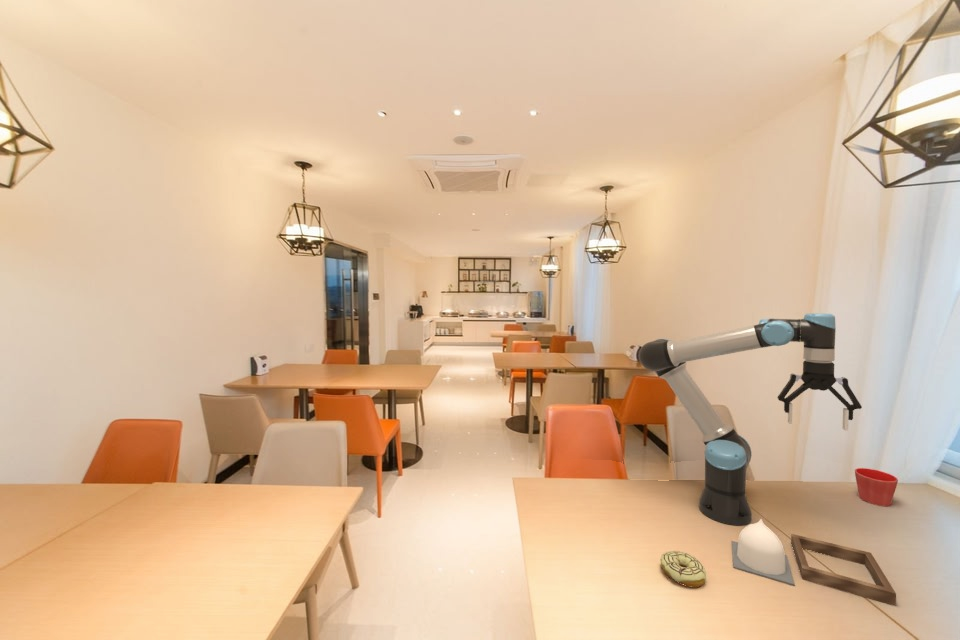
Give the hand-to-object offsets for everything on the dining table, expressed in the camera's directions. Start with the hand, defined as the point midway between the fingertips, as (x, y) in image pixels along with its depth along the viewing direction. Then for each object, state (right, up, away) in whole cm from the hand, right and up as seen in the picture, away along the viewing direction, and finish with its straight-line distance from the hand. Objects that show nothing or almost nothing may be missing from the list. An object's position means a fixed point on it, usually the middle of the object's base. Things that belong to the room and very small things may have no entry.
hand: (816, 426), depth 123 cm
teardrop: (-32, -33, -18) cm, 49 cm away
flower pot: (+32, -31, +13) cm, 46 cm away
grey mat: (-32, -33, -18) cm, 49 cm away
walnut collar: (-14, -33, -22) cm, 42 cm away
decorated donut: (-56, -34, -22) cm, 69 cm away
